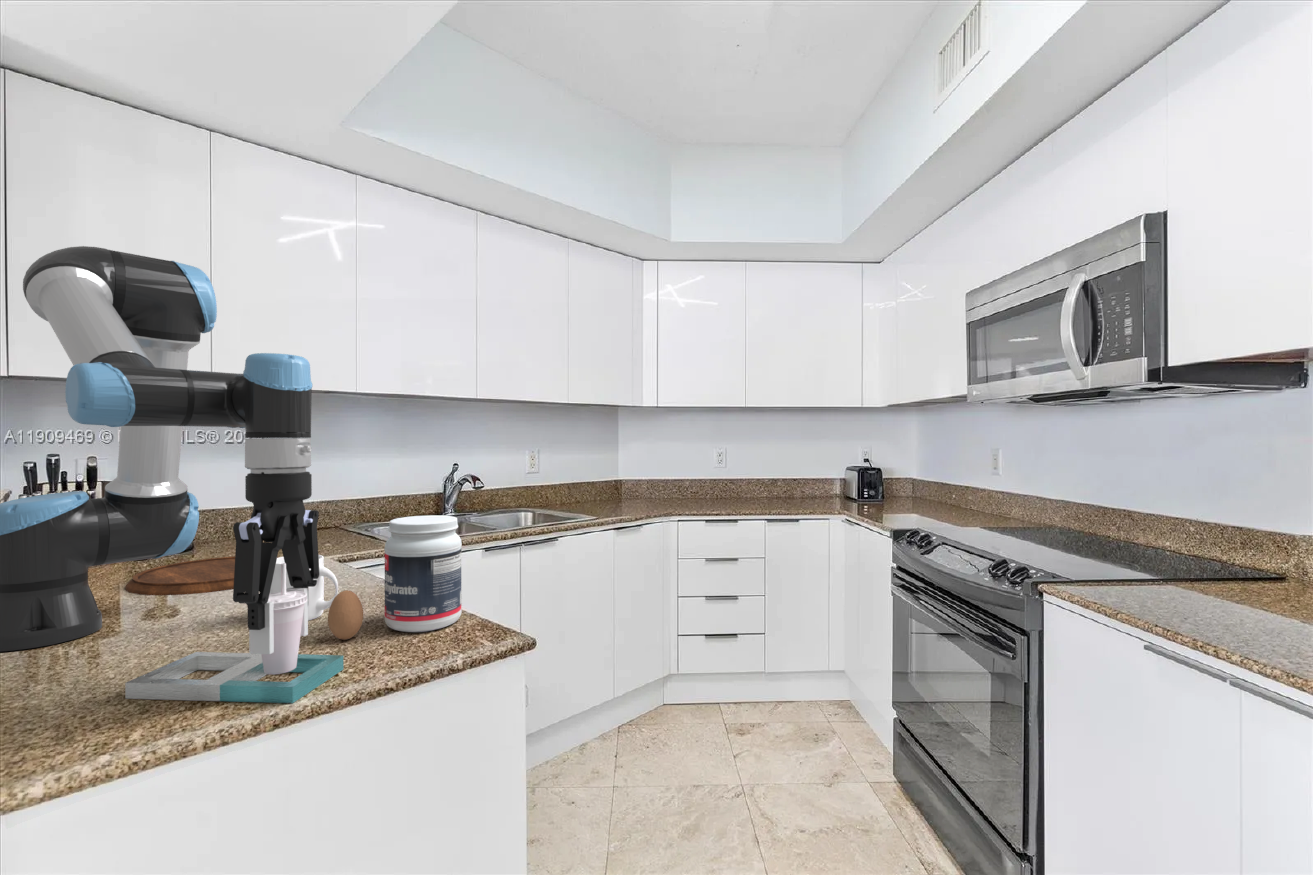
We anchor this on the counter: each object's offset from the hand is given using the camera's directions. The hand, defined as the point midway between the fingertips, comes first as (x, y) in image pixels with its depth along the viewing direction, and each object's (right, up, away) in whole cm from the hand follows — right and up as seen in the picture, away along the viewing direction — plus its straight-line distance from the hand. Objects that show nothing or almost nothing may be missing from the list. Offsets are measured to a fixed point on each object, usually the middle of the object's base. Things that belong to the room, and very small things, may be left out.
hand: (279, 643), depth 82 cm
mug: (-14, -6, +30) cm, 33 cm away
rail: (-6, -5, 0) cm, 8 cm away
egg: (0, -6, +18) cm, 19 cm away
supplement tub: (+9, -6, +26) cm, 29 cm away
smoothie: (0, -4, 0) cm, 4 cm away
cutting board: (-53, -6, +61) cm, 81 cm away
